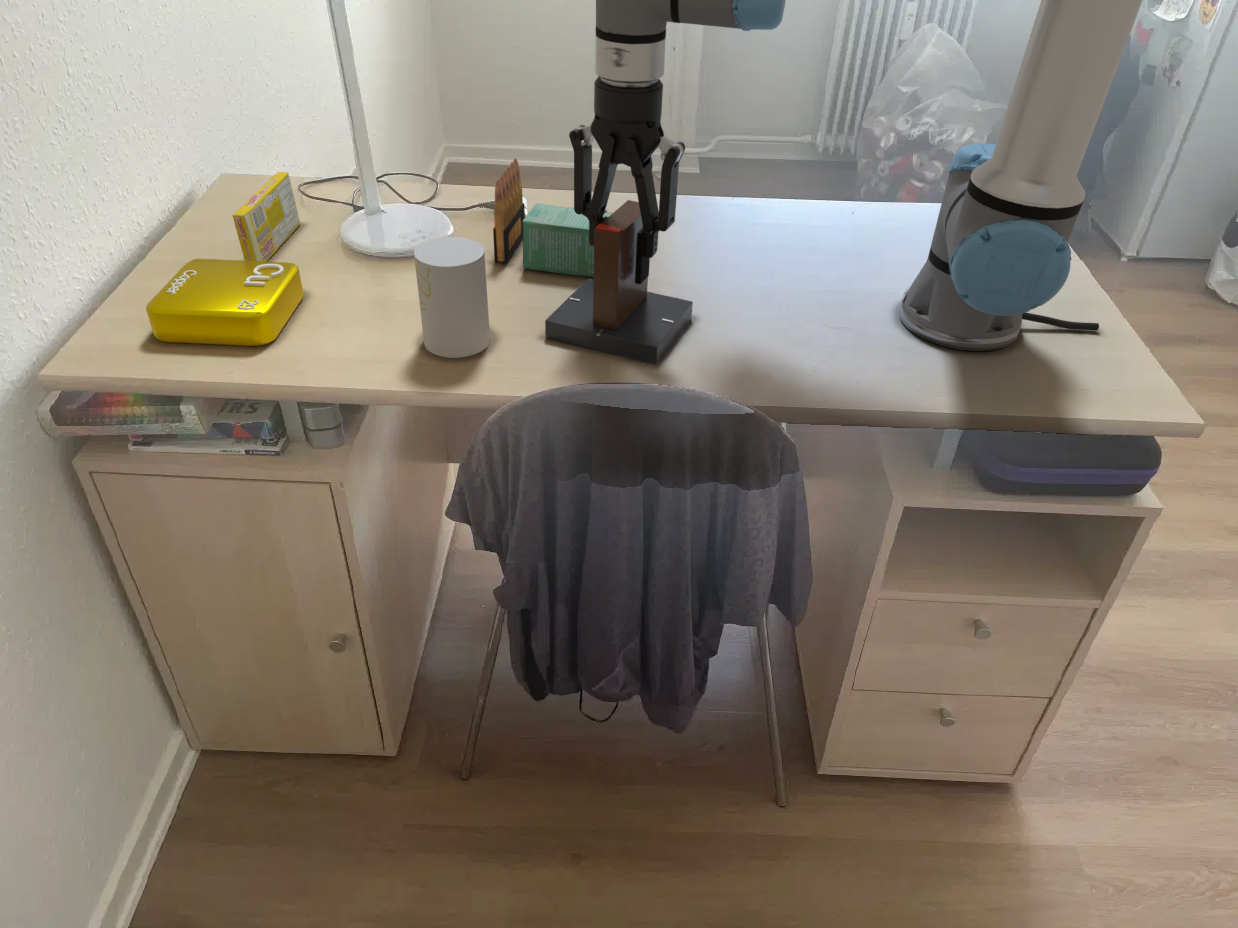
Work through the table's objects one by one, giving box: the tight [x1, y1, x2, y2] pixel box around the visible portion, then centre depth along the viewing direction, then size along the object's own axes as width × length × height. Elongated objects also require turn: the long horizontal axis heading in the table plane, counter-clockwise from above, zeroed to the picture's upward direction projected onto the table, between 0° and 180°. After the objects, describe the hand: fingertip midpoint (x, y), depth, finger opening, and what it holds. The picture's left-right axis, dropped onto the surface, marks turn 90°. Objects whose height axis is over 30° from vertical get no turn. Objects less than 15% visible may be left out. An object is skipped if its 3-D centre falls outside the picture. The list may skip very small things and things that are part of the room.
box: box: [522, 202, 614, 278], centre depth 131 cm, size 7×14×8 cm, turn 79°
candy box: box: [232, 171, 301, 262], centre depth 132 cm, size 16×2×8 cm, turn 175°
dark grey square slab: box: [544, 278, 694, 366], centre depth 118 cm, size 15×14×3 cm
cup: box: [413, 236, 491, 359], centre depth 111 cm, size 8×8×12 cm
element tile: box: [145, 258, 305, 347], centre depth 117 cm, size 15×15×5 cm
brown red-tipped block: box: [593, 199, 649, 330], centre depth 113 cm, size 10×3×13 cm, turn 156°
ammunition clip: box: [492, 157, 526, 264], centre depth 133 cm, size 11×2×12 cm, turn 170°
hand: (621, 274), depth 114 cm, fingers open, 5 cm apart
